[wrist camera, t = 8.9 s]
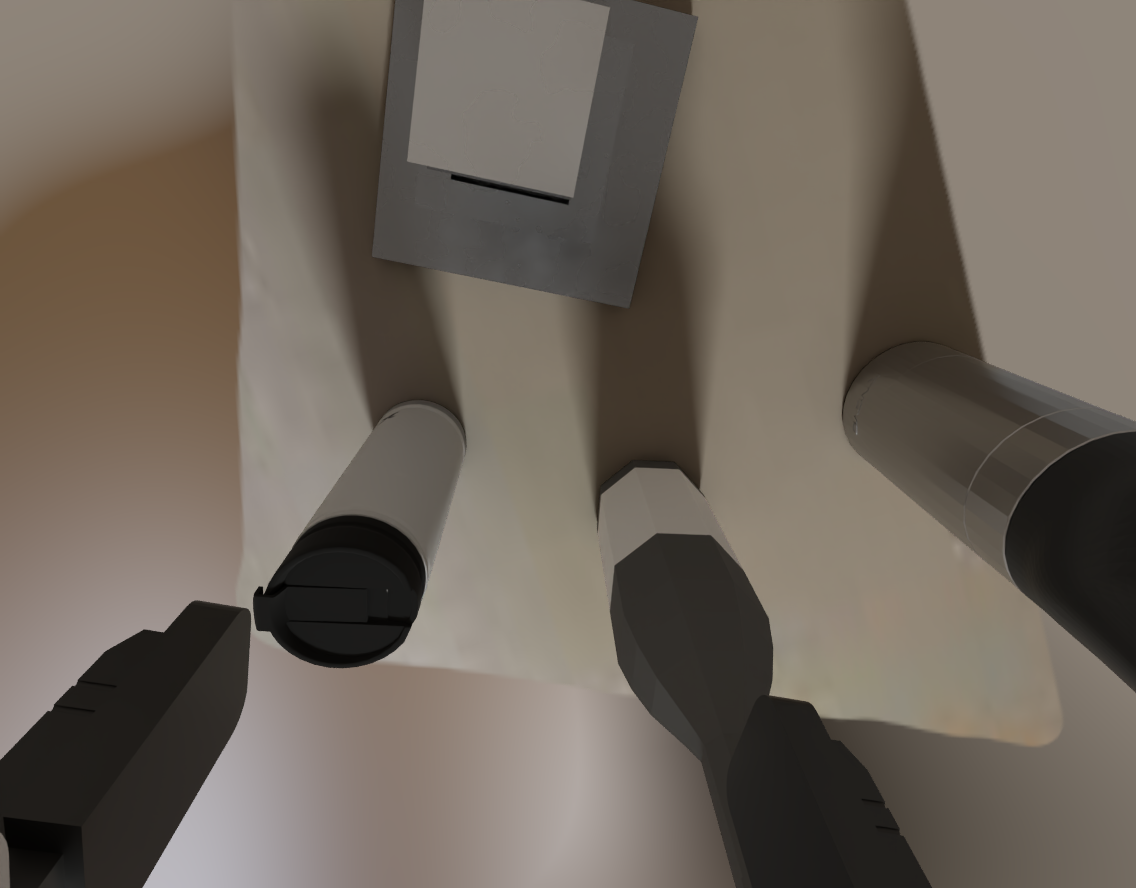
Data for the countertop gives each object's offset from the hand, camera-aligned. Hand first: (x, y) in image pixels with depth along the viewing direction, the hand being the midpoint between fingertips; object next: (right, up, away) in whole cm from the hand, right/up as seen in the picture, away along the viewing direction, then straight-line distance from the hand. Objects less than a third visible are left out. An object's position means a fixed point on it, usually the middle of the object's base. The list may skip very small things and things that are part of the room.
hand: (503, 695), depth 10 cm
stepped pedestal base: (-1, +22, +28) cm, 36 cm away
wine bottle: (+7, -1, +38) cm, 38 cm away
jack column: (-1, +20, +23) cm, 30 cm away
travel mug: (-9, +4, +35) cm, 37 cm away
